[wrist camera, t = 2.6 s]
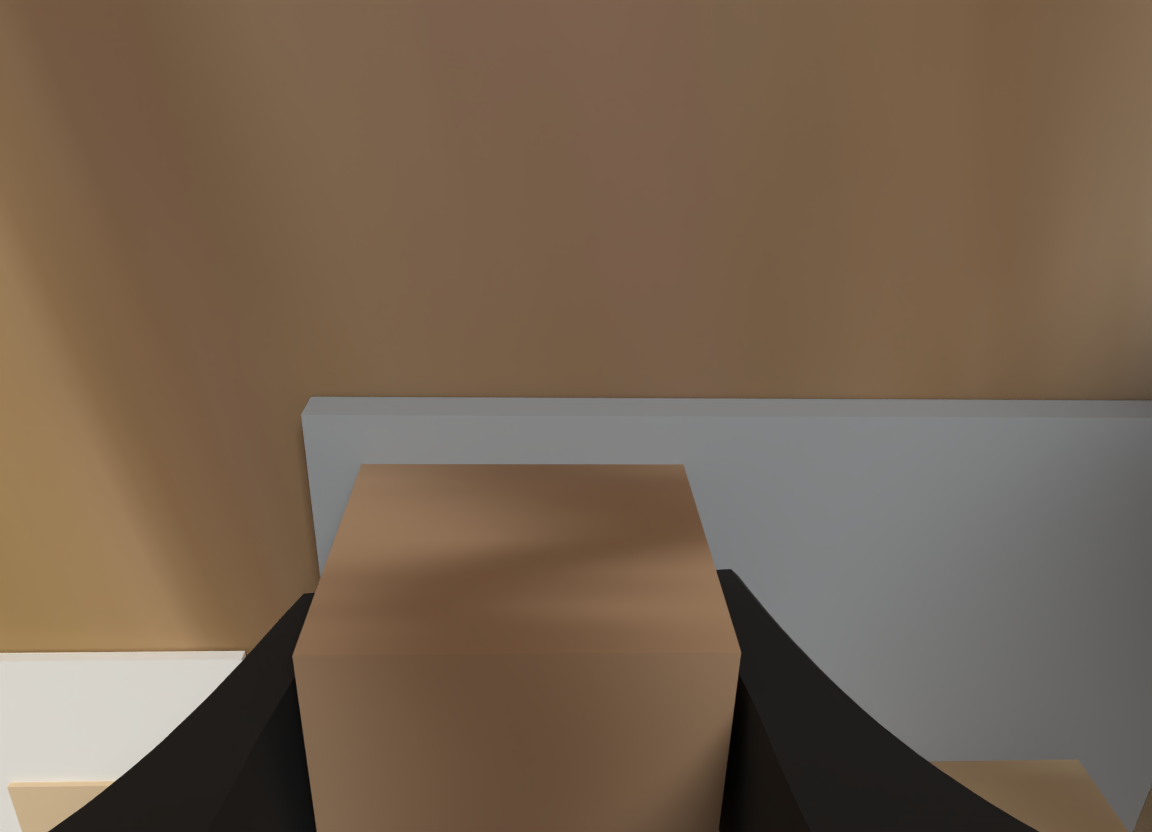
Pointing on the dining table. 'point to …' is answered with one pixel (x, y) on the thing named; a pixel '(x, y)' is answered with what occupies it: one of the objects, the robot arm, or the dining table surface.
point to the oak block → (1039, 793)
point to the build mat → (874, 544)
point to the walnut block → (518, 654)
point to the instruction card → (89, 722)
